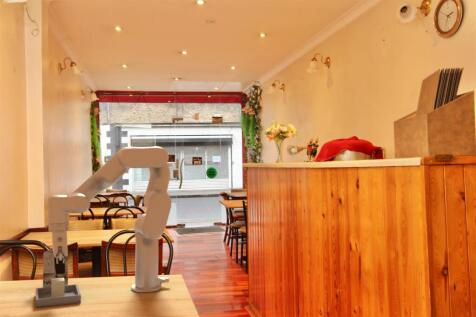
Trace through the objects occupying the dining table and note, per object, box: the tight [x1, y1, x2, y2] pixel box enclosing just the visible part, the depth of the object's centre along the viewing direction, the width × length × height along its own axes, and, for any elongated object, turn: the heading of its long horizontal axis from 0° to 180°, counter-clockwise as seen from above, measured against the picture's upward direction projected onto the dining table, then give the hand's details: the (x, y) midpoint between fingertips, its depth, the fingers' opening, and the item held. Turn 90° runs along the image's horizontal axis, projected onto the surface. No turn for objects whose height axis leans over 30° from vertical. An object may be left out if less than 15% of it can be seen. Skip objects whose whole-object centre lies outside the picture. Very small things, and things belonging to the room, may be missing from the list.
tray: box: [35, 283, 82, 309], centre depth 173 cm, size 16×16×3 cm
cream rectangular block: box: [51, 278, 65, 297], centre depth 173 cm, size 4×4×7 cm
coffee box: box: [42, 247, 69, 288], centre depth 188 cm, size 9×6×16 cm
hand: (59, 270), depth 174 cm, fingers open, 9 cm apart
